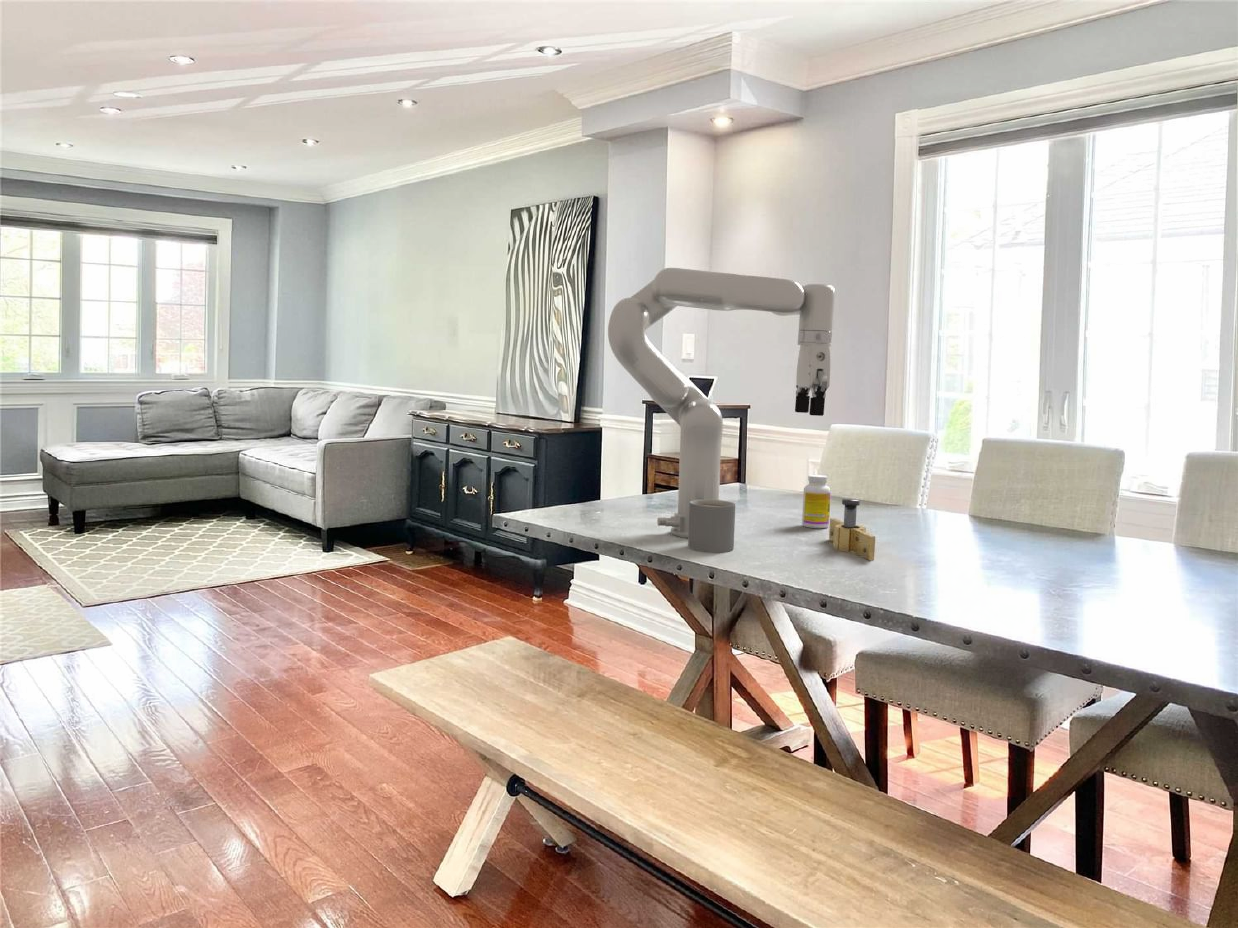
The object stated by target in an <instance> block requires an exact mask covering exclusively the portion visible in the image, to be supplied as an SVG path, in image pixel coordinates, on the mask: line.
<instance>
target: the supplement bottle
mask: <svg viewBox="0 0 1238 928" xmlns="http://www.w3.org/2000/svg"><path fill="white" fill-rule="evenodd" d="M807 479H808V484H806V485H805V486H804V487H803V495H802V496H803V498H802V499H803V500H802V502H803V503H802V516H801V517H802V518H801V519H802V520H801V524H802V526H803V527H806V528H809V529H826V528H829V527H830V511H831V493H832V492H831V488H830V486H828V485H827V482H828V476H827V475H824V474H809V475H808V477H807Z"/></svg>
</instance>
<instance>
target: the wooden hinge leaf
mask: <svg viewBox="0 0 1238 928" xmlns="http://www.w3.org/2000/svg"><path fill="white" fill-rule="evenodd" d="M838 524H844V521H842V520H840V519H837V518H834V517H833V518H832V517H831V518H830V517H829V529H828V530H829V533H828V540H829V541H831V542H833V543H834V527H835V525H838Z"/></svg>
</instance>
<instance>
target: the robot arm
mask: <svg viewBox="0 0 1238 928" xmlns="http://www.w3.org/2000/svg"><path fill="white" fill-rule="evenodd" d="M835 290H836V289H835V287H834V286H832V285H830V284H824V283H823V284H822V283H809V284H806V285H801V284H799V283H798V282H796V281H795V280H791V279H787V278H778V277H770V276H769V277H767V276H758V275H745V274H737V273H729V272H728V273H727V272H720V271H719V272H718V271H709V270H708V271H707V270H699V269H698V270H697V269H689V268H680V267H666V268H664V269H661V270H660V271H659V272H658V273H657V274H656V275H655V277H654V279H653V280H652V281H650V282H649V283H648V284H646V285H645V286H644V287H643V288H641V289H640V290H639V291H637V292H636V293H634V294H633V295H631V297H625V298H623V299H621V300H619V301H618V302H617V303H616V304H615V305H614V306H613V309H612V311H611V313H610V317H609V321H608V326H607V336H608V337H607V338H608V342H609V346H610V348H611V352H612V353H613V355H614V357H615V358H616V360H617V361H618V363H619V364H620V365H621V366H622V367H623V368H624V369H625V370H626V372H628V374H629V375H630V376H631V377H632V378H633V379H634V380H635V382H637V384H639V385H640V386H641V388H643V390H645V391H646V392H647V394H648V395H649V396H650V398H651V400H652V401H654V403H655V404H657V405H658V406H659V407H660V408H661V409H662V410H664V412H666V414H668V416H669V417H670V418H672V420H673V421H674V422H675V423H676V424H677V425H678V426H679V427H680V434H679V435H680V439H679V440H680V441H679V459H678V460H679V463H678V464H679V466H678V468H679V470H678V498H677V499H678V500H677V512H675V513H674V515H673V516H670V517H657V526H658V527H659V526H661V527H662V526H663V527H670V534H671V535H673V536H676V537H680V538H685V539H688V536H689V507H690V502H691V501H694V500H720V483H721V482H720V481H721V479H720V478H721V477H720V476H721V452H722V439H723V431H724V430H723V428H724V427H723V425H724V424H723V423H724V421H723V415H722V412H721V410H720V409H719V407H718V406H717V405H716V403H713V402H712V401H711V399H709V398H708V397H707V396H706V395H705V394H704V393H703V392H702V391H701V390H700V389H699V388H698V387H697V386H696V385H695V383H693V382H692V381H691V379H689V378H688V377H687V376H686V374H684V372H683V371H682V370H680V369H679V368H677V367H676V366H675V365H674V364H672V363H671V362H670V361H669V360H668V359H667V358H666V357H665V356H664V355H663V354H662V353H661V351H660V350H658V349H657V347H656V346H654V344H653V343H652V342H651V341H650V340H649V338H648V336H647V333H646V330H648V329H649V328H650V327H652V326H653V325H655V324H656V323H657V322H658V321H660V320H661V319H663V318H664V317H665V316H666V315H668V314H669V313H671V312H672V311H673V310H674V309H675V308H677V307H683V308H694V309H702V310H710V311H711V310H712V311H718V312H719V311H720V312H721V311H722V312H723V311H725V312H729V311H737V310H739V311H740V310H745V311H746V310H747V311H761V312H767V313H768V312H770V313H772V314H774V315H775V316H779V317H781V316H782V317H785V316H795V315H796V316H799V321H798V331H797V332H798V334H797V335H798V336H797V346H799V351H798V358H797V366H796V367H797V368H796V384H795V388H796V391H795V405H794V406H795V407H794V412H795V413H804V414H805V413H806V414H808V413H809V416H821V417H822V416H824V414H825V403H826V396H827V395H826V392H827V389H829V387H830V382H831V350H830V349H831V347H832V346H831V345H832V335H833V325H834V324H833V323H834V309H835V297H836V291H835ZM810 391H811V392H810ZM810 393H811V396H812V397H811V396H810V395H809V394H810Z"/></svg>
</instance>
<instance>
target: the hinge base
mask: <svg viewBox="0 0 1238 928" xmlns="http://www.w3.org/2000/svg"><path fill="white" fill-rule="evenodd" d="M866 531H867V527H866V526H864V525H860V524H856V528H844V524H838V525H835V527H834V542H833V549H835V550H836V549H837V551H840V552H841V551H842V552H848V553H854V554H856V555H858V556H860V557H861V558H864V559H866V560H868V561H874V560H875V550H876V549H875V548H876V547H875V546H876V536H875V535H874V534H872V533H871V534H870V533H869V532H866Z"/></svg>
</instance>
